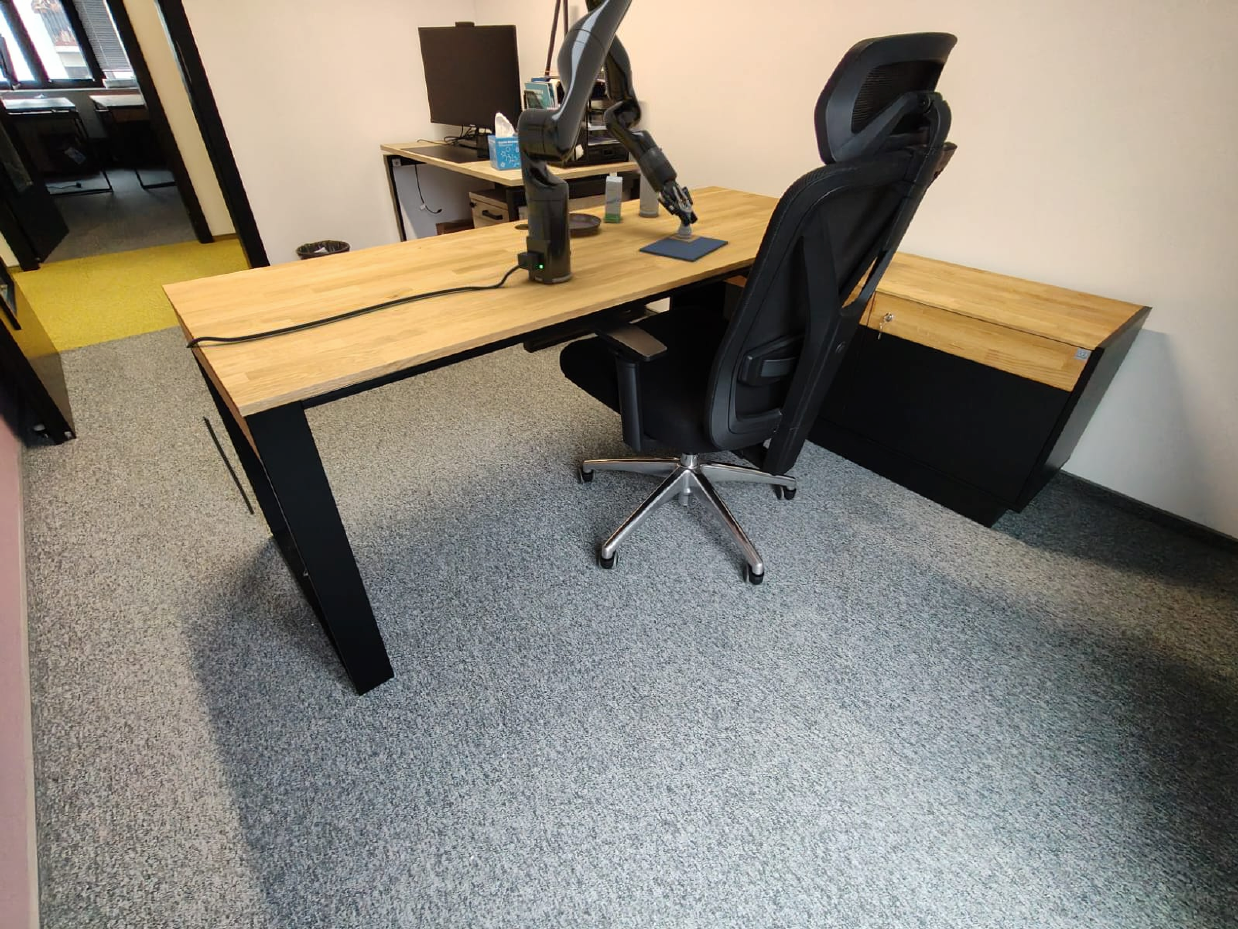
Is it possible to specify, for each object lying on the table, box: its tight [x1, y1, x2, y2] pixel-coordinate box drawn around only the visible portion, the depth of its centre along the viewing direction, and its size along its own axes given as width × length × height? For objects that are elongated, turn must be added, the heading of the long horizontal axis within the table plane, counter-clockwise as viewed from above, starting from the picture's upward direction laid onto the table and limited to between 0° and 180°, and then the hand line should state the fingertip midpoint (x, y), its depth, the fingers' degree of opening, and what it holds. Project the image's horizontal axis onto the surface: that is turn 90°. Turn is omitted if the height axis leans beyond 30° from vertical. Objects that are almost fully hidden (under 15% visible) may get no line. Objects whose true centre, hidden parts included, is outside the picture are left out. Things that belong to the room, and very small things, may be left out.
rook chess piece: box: [676, 205, 693, 239], centre depth 157 cm, size 4×4×8 cm
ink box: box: [604, 175, 623, 224], centre depth 174 cm, size 9×5×12 cm, turn 179°
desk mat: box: [638, 232, 729, 263], centre depth 153 cm, size 22×16×1 cm
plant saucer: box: [569, 212, 603, 237], centre depth 164 cm, size 18×18×3 cm
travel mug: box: [638, 147, 663, 218], centre depth 177 cm, size 6×7×20 cm
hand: (691, 223), depth 156 cm, fingers closed on rook chess piece, 3 cm apart
